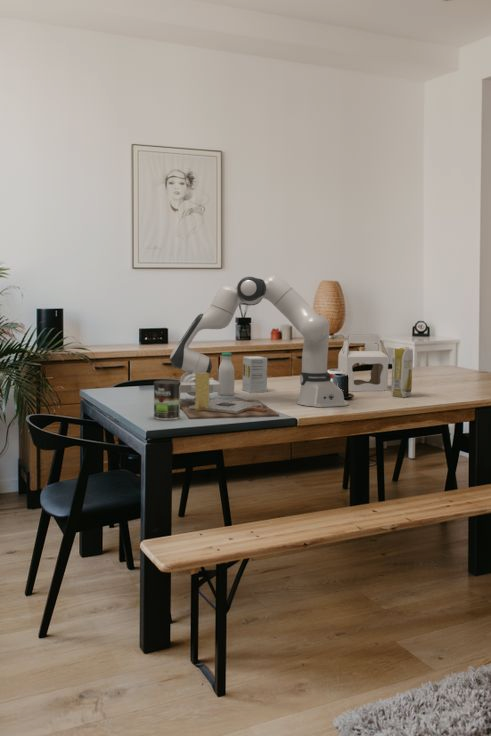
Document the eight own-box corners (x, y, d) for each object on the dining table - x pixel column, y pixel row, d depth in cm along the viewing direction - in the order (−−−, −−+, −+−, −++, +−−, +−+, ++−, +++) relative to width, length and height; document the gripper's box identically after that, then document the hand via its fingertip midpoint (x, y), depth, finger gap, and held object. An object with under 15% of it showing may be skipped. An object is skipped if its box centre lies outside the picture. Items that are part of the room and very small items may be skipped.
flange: (215, 400, 302) (216, 366, 301) (276, 407, 289) (276, 371, 288) (185, 409, 280) (186, 372, 279) (249, 416, 267) (250, 378, 266)
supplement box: (241, 390, 342) (242, 356, 340) (258, 389, 346) (259, 355, 344) (250, 393, 333) (250, 358, 331) (267, 392, 337) (267, 357, 335)
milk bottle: (237, 395, 326) (238, 353, 324) (223, 396, 322) (224, 353, 320) (228, 392, 333) (229, 351, 330) (214, 394, 328) (215, 352, 326)
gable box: (377, 387, 360) (379, 333, 357) (387, 391, 347) (389, 335, 344) (336, 387, 355) (338, 333, 352) (345, 391, 343) (347, 335, 339)
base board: (257, 401, 309) (257, 394, 309) (279, 416, 274) (279, 409, 274) (177, 403, 301) (177, 396, 301) (189, 419, 266) (189, 411, 266)
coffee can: (173, 421, 262) (173, 384, 260) (149, 418, 265) (148, 382, 264) (185, 416, 271) (185, 381, 270) (161, 414, 275) (161, 379, 273)
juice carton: (404, 398, 324) (406, 347, 321) (389, 396, 329) (391, 346, 326) (412, 396, 332) (415, 346, 329) (397, 394, 336) (399, 345, 333)
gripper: (169, 378, 294) (173, 382, 280) (216, 377, 299) (223, 382, 285) (169, 392, 295) (173, 398, 281) (216, 392, 299) (222, 397, 286)
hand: (198, 390), depth 283 cm, fingers closed
